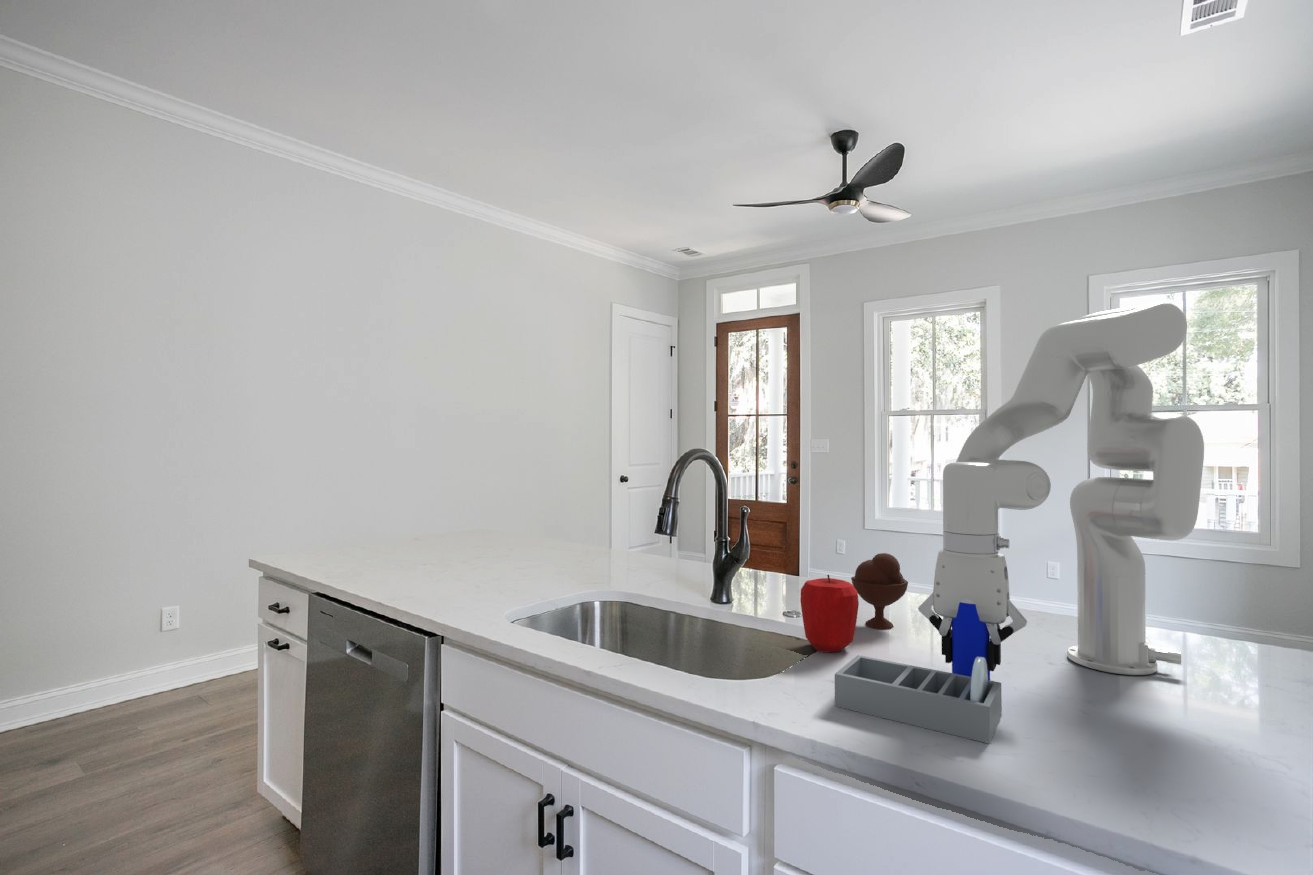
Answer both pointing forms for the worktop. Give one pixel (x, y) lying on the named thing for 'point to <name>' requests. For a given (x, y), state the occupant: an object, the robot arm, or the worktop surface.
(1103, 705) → the worktop surface
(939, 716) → the dish rack
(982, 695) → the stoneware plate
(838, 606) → the apple
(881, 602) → the ice cream bowl
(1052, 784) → the worktop surface
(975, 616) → the beverage can
